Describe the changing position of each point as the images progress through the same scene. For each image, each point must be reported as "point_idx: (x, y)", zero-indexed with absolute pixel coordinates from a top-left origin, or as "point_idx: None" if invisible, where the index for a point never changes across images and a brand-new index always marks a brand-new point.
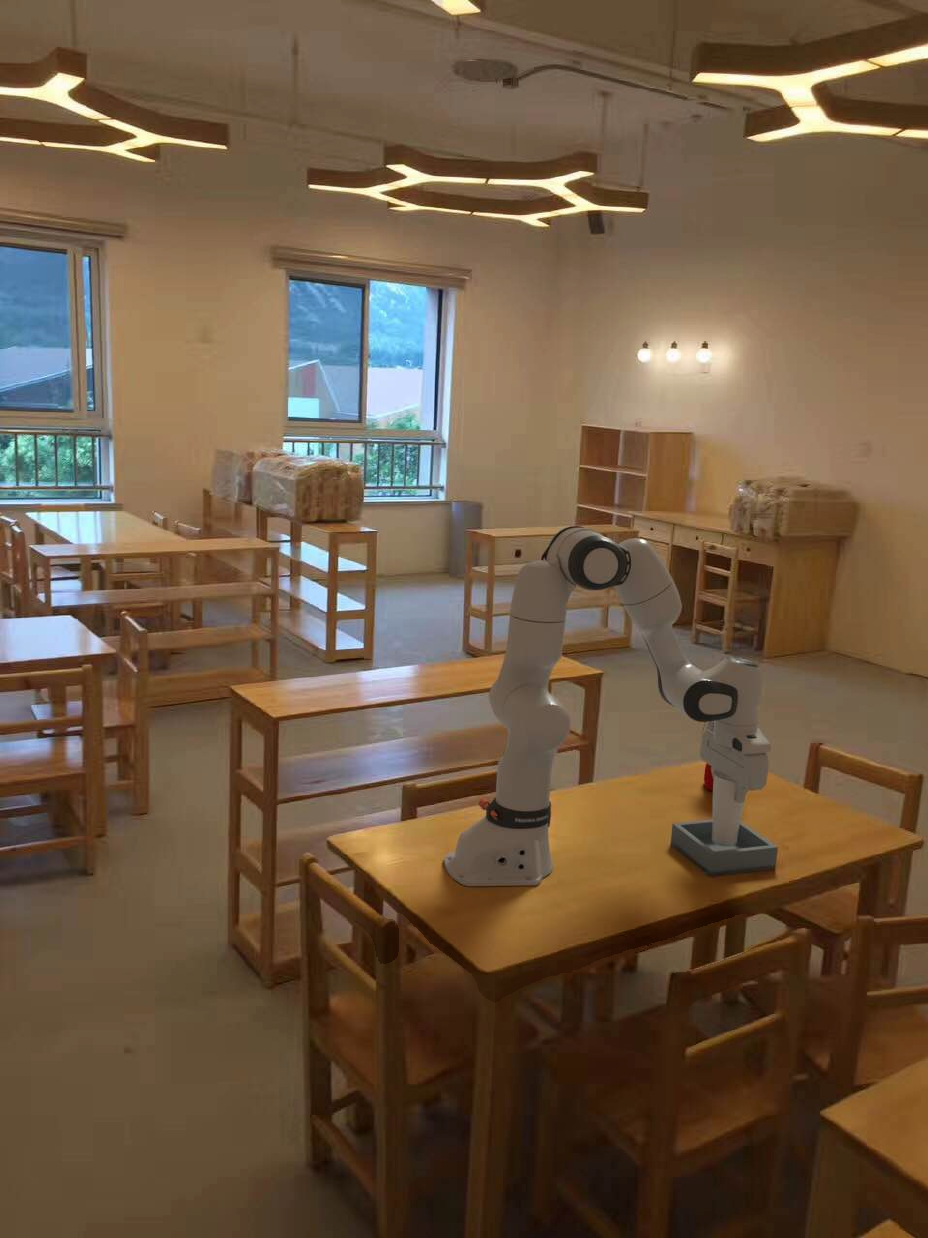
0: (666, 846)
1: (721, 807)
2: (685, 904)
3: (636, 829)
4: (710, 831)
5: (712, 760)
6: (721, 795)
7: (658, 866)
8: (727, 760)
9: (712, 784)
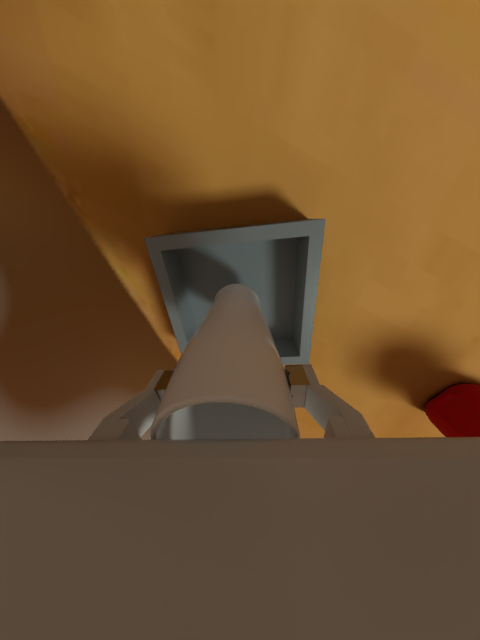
0: (303, 204)
1: (202, 325)
2: (32, 109)
3: (410, 164)
4: (298, 307)
5: (372, 492)
6: (193, 346)
7: (213, 128)
8: (147, 615)
9: (465, 393)
